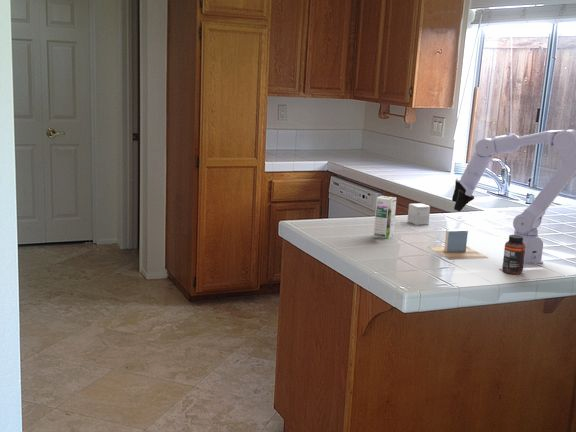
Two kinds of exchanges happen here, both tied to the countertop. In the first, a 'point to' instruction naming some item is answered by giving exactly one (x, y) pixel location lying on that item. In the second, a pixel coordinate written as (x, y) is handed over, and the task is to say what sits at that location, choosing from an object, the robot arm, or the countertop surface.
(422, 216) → the white stone block
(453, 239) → the tile
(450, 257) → the cork mat
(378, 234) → the syrup box
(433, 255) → the countertop surface
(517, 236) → the supplement bottle
